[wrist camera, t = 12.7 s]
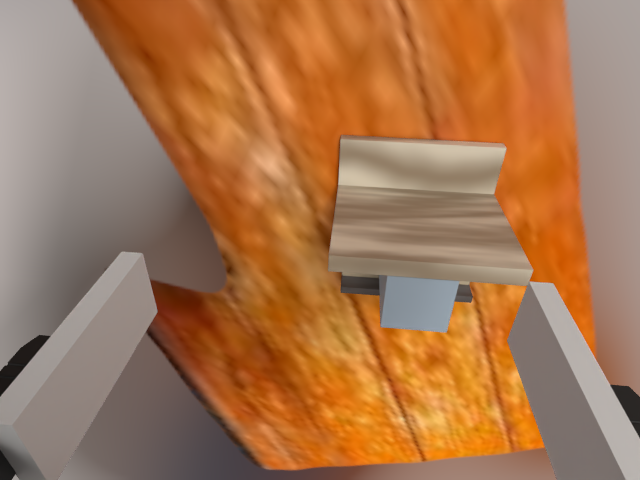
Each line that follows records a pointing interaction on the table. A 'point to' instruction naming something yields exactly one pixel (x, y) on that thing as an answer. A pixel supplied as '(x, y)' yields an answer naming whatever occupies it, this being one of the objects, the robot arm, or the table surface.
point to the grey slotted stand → (422, 215)
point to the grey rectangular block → (416, 302)
